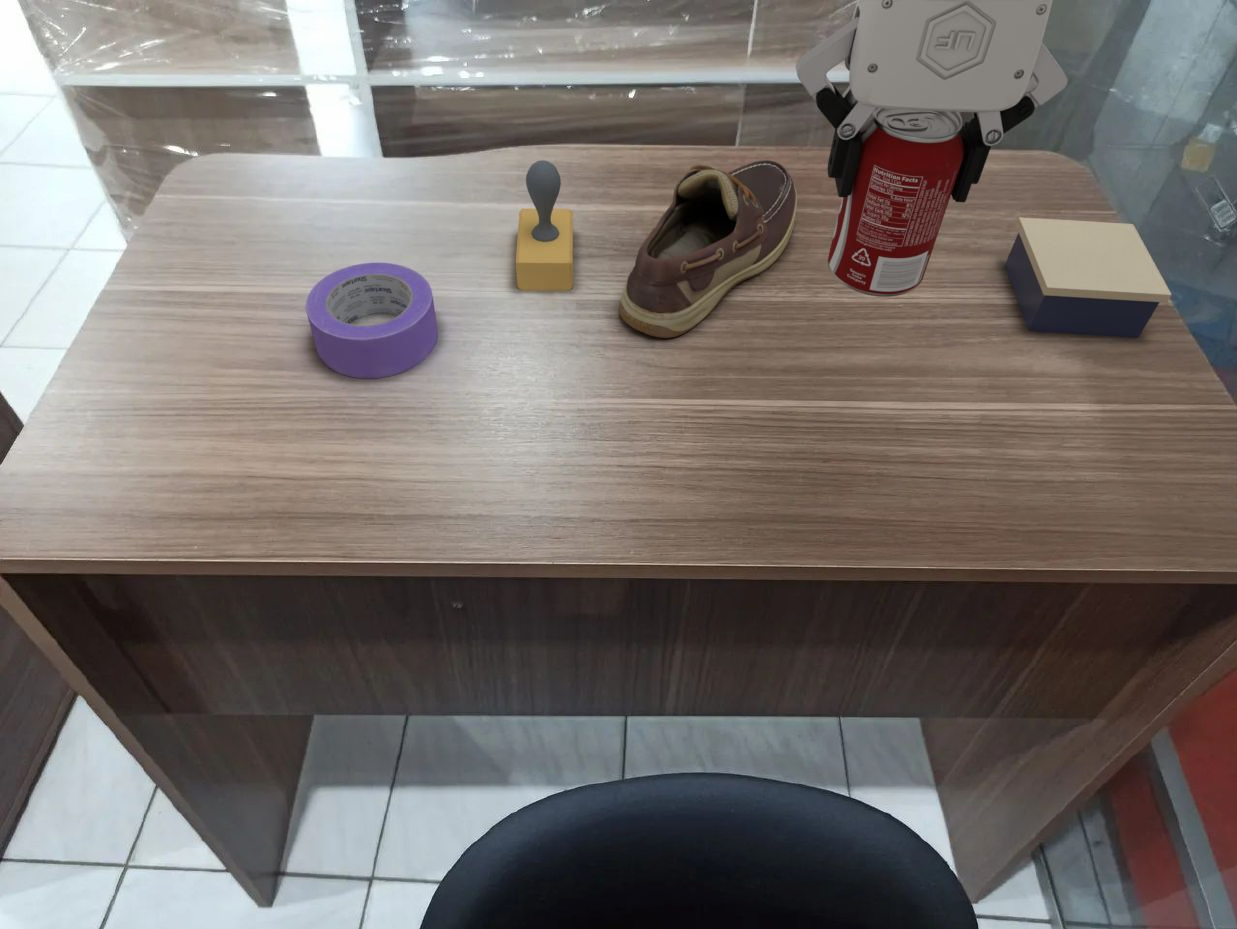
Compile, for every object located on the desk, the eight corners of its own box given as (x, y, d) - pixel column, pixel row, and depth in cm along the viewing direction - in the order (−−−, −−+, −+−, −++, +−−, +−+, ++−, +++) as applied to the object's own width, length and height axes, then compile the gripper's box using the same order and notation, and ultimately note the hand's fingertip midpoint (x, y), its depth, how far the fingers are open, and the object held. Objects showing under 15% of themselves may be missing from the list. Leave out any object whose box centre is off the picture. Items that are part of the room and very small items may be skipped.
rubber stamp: (572, 291, 95) (571, 190, 86) (517, 291, 94) (510, 189, 85) (572, 236, 101) (571, 136, 92) (521, 235, 101) (514, 136, 92)
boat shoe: (741, 185, 109) (754, 98, 101) (822, 218, 105) (843, 129, 97) (588, 313, 92) (589, 221, 84) (678, 357, 88) (687, 265, 80)
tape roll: (411, 288, 94) (404, 248, 91) (457, 354, 88) (452, 313, 84) (300, 323, 90) (288, 283, 86) (340, 395, 84) (329, 355, 80)
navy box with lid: (1108, 270, 100) (1133, 223, 95) (1143, 341, 92) (1172, 294, 87) (999, 263, 100) (1018, 216, 95) (1024, 334, 92) (1047, 287, 88)
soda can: (930, 305, 63) (986, 145, 54) (833, 303, 62) (873, 142, 54) (909, 248, 67) (958, 91, 58) (819, 246, 67) (854, 89, 58)
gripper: (823, -104, 44) (770, 215, 57) (1183, -91, 44) (1045, 226, 57) (809, -150, 49) (763, 153, 62) (1131, -138, 49) (1015, 164, 62)
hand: (898, 186), depth 59 cm, fingers closed on soda can, 6 cm apart
